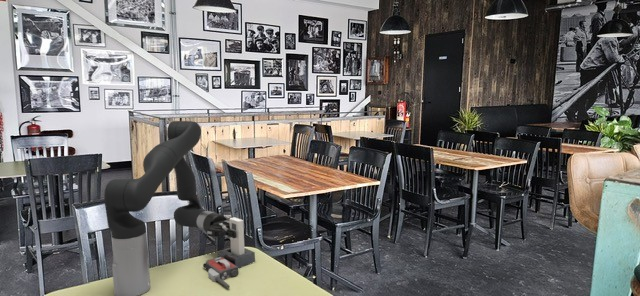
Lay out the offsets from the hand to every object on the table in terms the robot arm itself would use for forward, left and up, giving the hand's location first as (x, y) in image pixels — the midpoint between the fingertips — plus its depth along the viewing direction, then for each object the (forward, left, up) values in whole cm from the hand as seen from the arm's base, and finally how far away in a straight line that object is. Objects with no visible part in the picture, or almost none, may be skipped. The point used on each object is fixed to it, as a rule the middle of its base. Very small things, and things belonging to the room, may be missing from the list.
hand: (240, 233), depth 144 cm
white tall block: (-1, +2, -11) cm, 11 cm away
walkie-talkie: (-6, -8, -11) cm, 15 cm away
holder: (-1, +2, -11) cm, 11 cm away
